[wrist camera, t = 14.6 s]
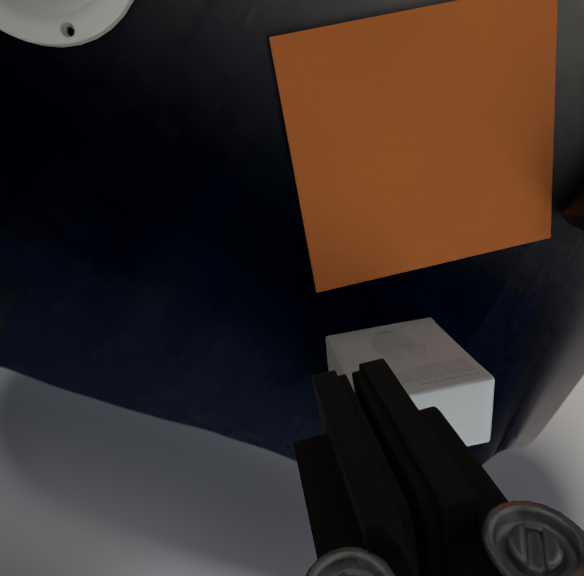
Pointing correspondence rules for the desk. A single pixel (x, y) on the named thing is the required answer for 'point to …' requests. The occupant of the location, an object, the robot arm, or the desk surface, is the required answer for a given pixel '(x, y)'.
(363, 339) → the cosmetics box
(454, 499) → the robot arm
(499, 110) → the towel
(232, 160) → the desk surface
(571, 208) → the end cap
